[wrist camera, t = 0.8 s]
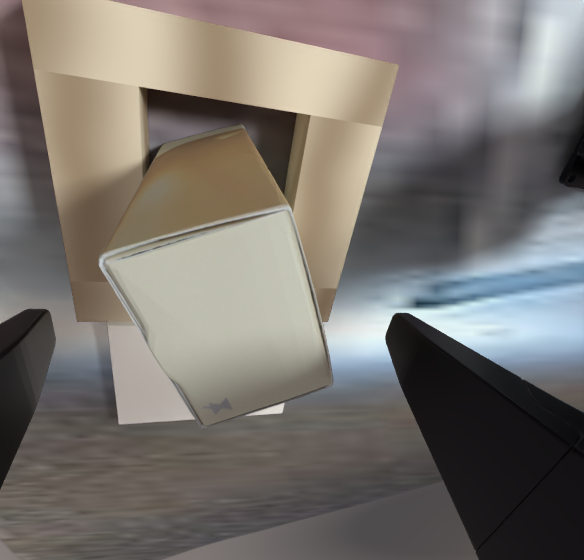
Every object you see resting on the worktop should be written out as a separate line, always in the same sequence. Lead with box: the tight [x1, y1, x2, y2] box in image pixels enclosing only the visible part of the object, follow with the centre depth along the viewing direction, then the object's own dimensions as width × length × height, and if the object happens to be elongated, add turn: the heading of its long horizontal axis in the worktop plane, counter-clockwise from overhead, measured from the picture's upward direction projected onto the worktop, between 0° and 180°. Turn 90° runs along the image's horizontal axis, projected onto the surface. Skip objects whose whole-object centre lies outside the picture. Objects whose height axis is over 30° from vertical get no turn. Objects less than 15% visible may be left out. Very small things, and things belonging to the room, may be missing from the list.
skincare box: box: [98, 124, 333, 429], centre depth 14 cm, size 6×4×12 cm
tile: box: [107, 322, 284, 425], centre depth 25 cm, size 12×9×1 cm
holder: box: [22, 0, 399, 322], centre depth 18 cm, size 14×14×2 cm
